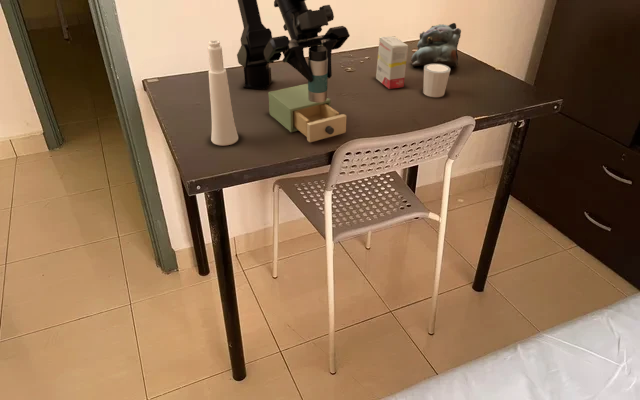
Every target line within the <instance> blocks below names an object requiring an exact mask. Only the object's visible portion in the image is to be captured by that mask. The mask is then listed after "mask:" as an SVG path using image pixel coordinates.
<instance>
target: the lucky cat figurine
mask: <svg viewBox="0 0 640 400" xmlns="http://www.w3.org/2000/svg"><path fill="white" fill-rule="evenodd" d="M461 33H462V29H461V28H459V27H457V23H455V22H452V23H450V24H449V25H447V24H444V23H443V24H437V25H432V26H431V27H430V28H429V29H427V30H426V31H422V32H421V33H419V40H418V42H417V45H416V47H417V50H416V51H414V53H413V54H411V59H410V60H411V63H410V65H411V66H412V67H413V68H414V67H418V66H426V65H428V64H442V65H446V66H448V67H449V68H455V67H458V66H459V63H458V62H459V54H458V47H459V43H460V38H461Z"/></svg>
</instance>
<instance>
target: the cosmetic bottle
mask: <svg viewBox="0 0 640 400" xmlns="http://www.w3.org/2000/svg"><path fill="white" fill-rule="evenodd" d="M207 43H208V47H207V52H208V63H209V69H208V87H209V98H210V99H209V100H210V113H211V114H210V115H211V136H210V140H211V142H212V144H213V145H217V146H223V147H225V146H229V145H230V146H231V145H234V144H235V143H237V142H238V141H239V134H238V131H237V127H236V123H235V118H234V113H233V107H232V100H231V99H232V98H231V94H230V86H229V81H228V73H227V69H226V68H225V66H224V58H223V57H224V55H223V47H222V46H221V42H220V40H214V39H213V40H209V41H208V42H207Z"/></svg>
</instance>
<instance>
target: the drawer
mask: <svg viewBox="0 0 640 400" xmlns="http://www.w3.org/2000/svg"><path fill="white" fill-rule="evenodd" d="M293 126H294V127H295V128H297V129H298V132H300V133H301V134H302V135H304V137H306V140H307V142H308V143H313V142H317V141H320V140H323V139H328V138H331V137H334V136H338V135H341V134H345V133H346V132H347V115H346V114H345V113H341V114H340V112H338V111H337V110H336V109H335V108H333V107H332V106H331V107H330V106H329V105H327V104H326V103H324V104H320V105H316V106H312V107H308V108H304V109H300V110H296V111H293Z"/></svg>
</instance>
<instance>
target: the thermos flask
mask: <svg viewBox="0 0 640 400" xmlns="http://www.w3.org/2000/svg"><path fill="white" fill-rule="evenodd" d="M307 64H308V67H309V69H310V71H311V74H312V77H313V81H312V82H309V81H308V80H307V84H308V100H309V101H311V102H316V103H320V102H324V101H326V100H327V97H328V83H329V82H328V79H329V78H328V58H327V48H326V47H323V46H312V47H308V57H307Z"/></svg>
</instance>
